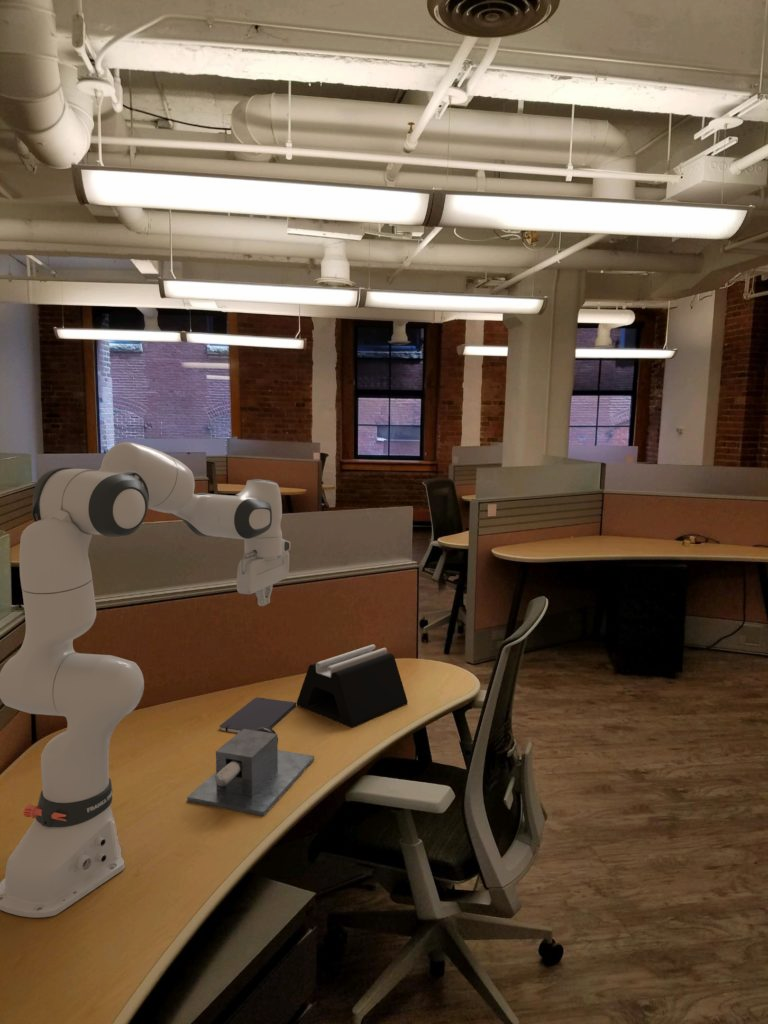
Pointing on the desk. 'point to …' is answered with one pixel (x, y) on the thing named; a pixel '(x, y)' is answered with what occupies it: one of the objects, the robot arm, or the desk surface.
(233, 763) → the shaft
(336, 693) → the device stand
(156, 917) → the desk surface
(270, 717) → the paper product
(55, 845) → the robot arm
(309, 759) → the bearing housing
